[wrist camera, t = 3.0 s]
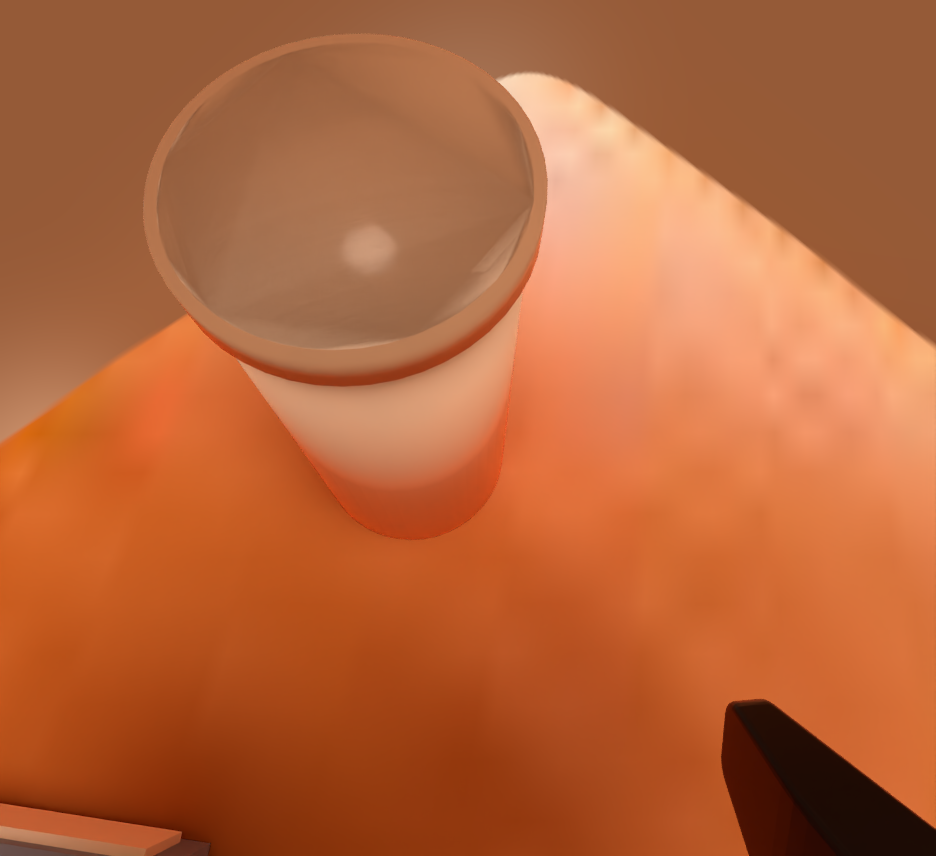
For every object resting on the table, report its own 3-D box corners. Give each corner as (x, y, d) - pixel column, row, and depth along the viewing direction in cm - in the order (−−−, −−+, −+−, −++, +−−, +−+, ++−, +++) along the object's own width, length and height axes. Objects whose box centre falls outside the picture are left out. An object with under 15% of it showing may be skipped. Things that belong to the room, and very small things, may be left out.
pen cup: (535, 404, 23) (601, 96, 11) (465, 576, 21) (453, 427, 9) (369, 342, 24) (264, -6, 12) (286, 502, 22) (61, 275, 10)
